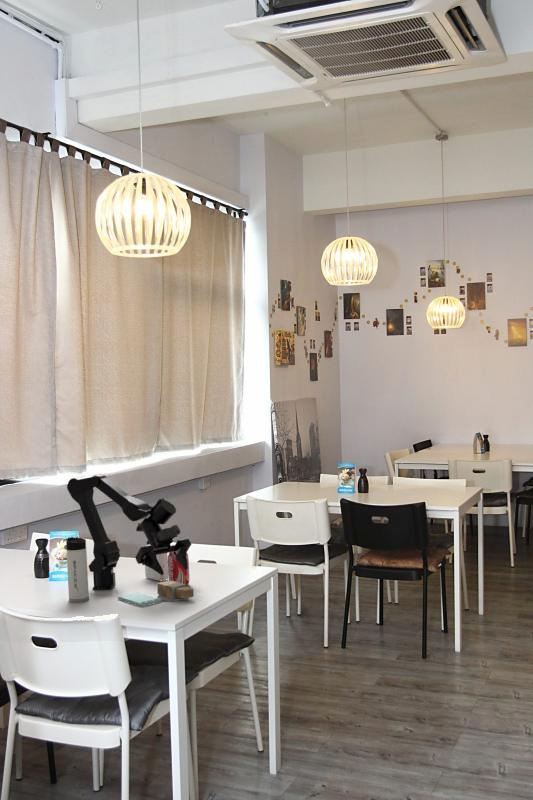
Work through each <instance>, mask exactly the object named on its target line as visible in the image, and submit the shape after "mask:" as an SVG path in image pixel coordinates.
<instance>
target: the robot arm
mask: <svg viewBox="0 0 533 800" xmlns="http://www.w3.org/2000/svg"><path fill="white" fill-rule="evenodd" d="M94 488H96V489H97V490H99V491H100V492H102V493H103V494H104V495H105V496H106V497H107V498H109V499H110V500H112V501H113V502H114V503H115V504H117V505H118V506H119V508H121V510H122V512H123V514H124V515H125V516H126V518H127V519H128V520H129V521H131V522H138V521H141V522H138V523H137V526H136V530H135V531H136V532H143V534H144V536H145V538H146V539H147V541H146V545H144V546H140V548H139V549H138V551H137V553H136V555H135V560H136V562H137V563H136V564H138V565H140V564H142V566H145V565H146V566H148V567H149V568H151V569H153V570H155V571H156V572H158V573H159V574H161V575H163V574H164V572H163V569H162V567H161V566H160V564H159V562H158V560H157V558H156V555H158V554H164V553H167V554H169V553H170V552H173V553H174V555H176V559H177V560H178V561H179V563H180V564H181V565H182V567H183V568H184V569H185V570H187V569H188V565H187V558H186V553H187V554H188V551H189V550H190V547H191V546H192V541H191V540H190V539H189V538H183V539H182V538H181V539H178V540H176V542H175V544H172V543H173V542H174V540H173V539H175V538H177V537H178V535H180V534H181V528H180V527H179V526H178V524H174V525H172V526H170V527H165V528H163V529H162V527H161V525H166V524H167V522H169V520H170V519H171V518H172V517H173V516H175V514H176V512H177V508H176V507H175V506H174V504H172V503H171V502H170V501H168V500H165V498H164V497H163V498H162V497H161V498H158V500H157V501H156V503H155V504H154V505H153V506H152V505H149V504H148V503H147V502H146V501H144V500H142V499H140V498H137V497H133V496H131V495H130V494H129V493H127V492H126V491H125V490H123V489H122V488H121V487H119V486H118V485H116V483H115V482H113V481H111V480H110V479H109V478H108V477H107V475H105V474H102V473H101V474H96V475H95V474H94V475H93V476H90V477H88V476H85V475H84V476H79V477H77V476H76V477H72V478H70V479H69V480H68V482H67V485H66V489H67V492H68V493H69V495H70V497H71V498H72V500H74V501H75V502H76V503H77V504H78V505H79V507H80V508H79V509H80V511H81V513H82V516H83V518H84V521H85V523H86V526H87V529H88V532H89V533H90V536H91V538H92V542H93V550H92V552H93V558H94V559H93V560H92V561H91V562H90V564H89V565H88V569H89V572H91V573H92V574H93V577H92V579H93V587H92V590H94V591H95V590H112V589H113V588H115V586H116V583H117V582H116V572H114V568H116V567H117V565H118V562H119V560H120V558H121V553H120V552H121V549H119V546H118V543H117V541H116V540H111V539H110V538H109V537H108V535H107V532H106V529H105V527H104V525H103V522H102V519H101V516H100V514H99V511H98V508H97V506H96V503H95V501H94V491H95V490H94ZM147 545H149V546H147ZM150 545H151V546H150Z"/></svg>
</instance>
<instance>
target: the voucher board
mask: <svg viewBox="0 0 533 800" xmlns="http://www.w3.org/2000/svg"><path fill="white" fill-rule="evenodd" d="M117 598H118V599H119V600H118V599H117V600H118V601H121V600H122V601H121V602H125V601H126V602H125V603H128V602H129V603H128V604H131V603H133V604H132V605H134V604H136V605H135V606H137V605H139V606H138V607H140V606H144V605H148V606H150V605H149V604H152V605H154V604H153V603H156V604H159V603H158V602H160V603H161V602H162V601H161V599H158V598H157V597H154V596H152V595H147V594H145V593H141V592H137V591H135V592H131V593H127V594H123V595H118V596H117ZM144 607H145V606H144Z"/></svg>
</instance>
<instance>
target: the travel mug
mask: <svg viewBox="0 0 533 800" xmlns="http://www.w3.org/2000/svg"><path fill="white" fill-rule="evenodd" d="M65 542H66V543H65V545H66V566H67V569H66V570H67V587H68V588H67V589H68V601H69V602H70V603H82V602H86V601H89V599H90V597H89V577H88V574H89V573H88V553H87V540H86V539H85V538H83V537H74V536H73V537H72V536H71V537H67V539H66V541H65Z"/></svg>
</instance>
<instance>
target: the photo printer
mask: <svg viewBox="0 0 533 800" xmlns="http://www.w3.org/2000/svg"><path fill="white" fill-rule="evenodd" d="M146 546H149V545H147V544H146ZM150 546H151V545H150ZM156 558H157V560H158V562H159V564H160V566H161V567H162V569H163V572H164V574H163V575H161V574H159V573H158V572H156V571H155V570H153V569H151V568H149V567H148V566H146V565H144V573H145V577H146V578H148V579H151V580H154V581H159V582H161V581H160V580H166V579H167V580H169V577H168V553H164V554H158V555H156ZM167 580H166V581H167Z"/></svg>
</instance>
